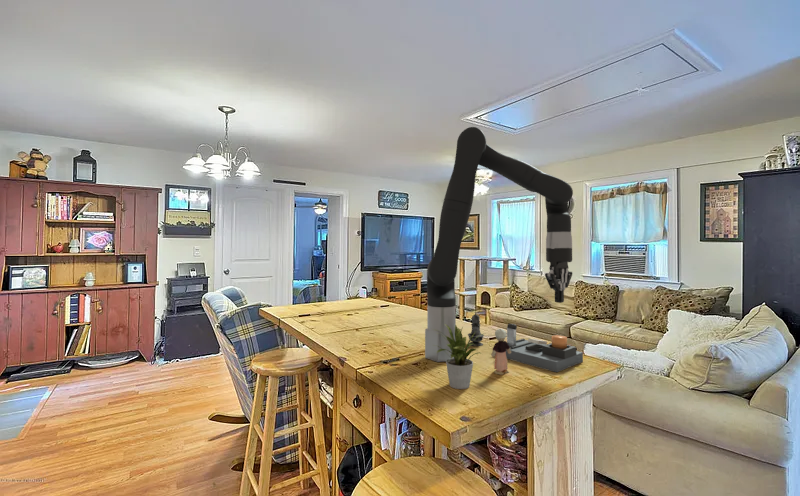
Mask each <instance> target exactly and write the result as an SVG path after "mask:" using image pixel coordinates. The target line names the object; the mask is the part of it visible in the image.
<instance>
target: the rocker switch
mask: <svg viewBox="0 0 800 496" xmlns="http://www.w3.org/2000/svg"><path fill="white" fill-rule="evenodd" d="M527 340H528V342H532V343H537V344H545V345H547V343H548V342H547V341H546V340H541V339H536V338H528V339H527Z"/></svg>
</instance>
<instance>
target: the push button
mask: <svg viewBox="0 0 800 496" xmlns="http://www.w3.org/2000/svg"><path fill="white" fill-rule="evenodd" d="M551 343H552V347H554V348H560V349H565V348H567V345H568V337H567V336H565V335H559V334H558V335H556V334H555V335H552V336H551Z"/></svg>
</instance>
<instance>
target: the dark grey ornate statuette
mask: <svg viewBox="0 0 800 496" xmlns="http://www.w3.org/2000/svg"><path fill="white" fill-rule="evenodd" d="M480 320H481V318H480V316H479V315H478V314H477V312H475V313H474V314H473V315H472V316H471V324H470V325H471V332H470V333H468V334H467V336H468V339H469V340H470V338H471V337H472V335H473V334H474V333H475V334H474V336H473V338H472V339H471V341H470V342H469V344H472V345H471V347H482V346H483V345H484V344H483V343H482V341H483V339H484V336H485V334H484V333H481V328H480V327H481V323H480V322H481V321H480ZM475 331H476V332H475ZM481 334H482V335H481ZM479 335H480V336H479ZM476 337H477V338H476ZM475 338H476V339H475ZM474 339H475V340H474ZM473 340H474V341H473ZM473 343H474V344H473Z"/></svg>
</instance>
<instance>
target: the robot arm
mask: <svg viewBox="0 0 800 496" xmlns="http://www.w3.org/2000/svg"><path fill="white" fill-rule="evenodd" d="M479 166H480V167H483V168H485V169H488V170H490V171H493V172H494V173H496V174H498V175H501V176H502V177H504V178H506V179H508V180H509V181H512V182H513V183H515V184H517V185H518V186H520V187H522V189H526V190H527V191H528V192H530V193H536V194H539V195H540V196H542V197H544V201H545V202H544V203H545V211H546V235H545V236H546V237H545V261H546V262H547V263H550V264H549V268H548V270H549V271H548V272H545V273H544V276H545V279H546V281H547V284H548V285H549V288H550V289H553V291H554V302H555V303H558V304H562V303H564V302H565V294H564V293H565V290H566V289H567V288H569V285H570V282H571V279H572V276H573V271H570V270H569V263H571V262H573V236H572V218H571V215H570V213H569V202H570V200H571V199H572V197H573V195H574V190H573V188H572V186H571V185H570V184H569V183H568V182H566V181H565V180H563V179H561V178H558V177H556V176H553V175H551V174H548V173H545V172H543V171H542V170H541V169H538V168H537V167H535V166H534V165H531V164H529V163H528V162H526V161H523V160H521V159H518V158H514V157H512V156H509V155H505V154H503V153H502V152H499V151H497V150H495V148H493V147H491V146H490V145H489V144H488V143H487V138H486V134H485V133H484V132H483V130H482V129H480V128H479V127H476V126H469V127H468V128H465V129H464V130H463V131H462V132H461V133H459V136H458V137H457V142H456V152H455V157H454V164H453V169H452V173H451V176H450V178H449V181H448V185H447V188H446V192H445V195H444V198H443V202H442V206H441V211H440V217H439V225H438V226H439V227H438V239H437V243H436V247H435V250H434V254H433V256H432V259H431V260H430V261H429V263H428V264H427V268H426V299H427V300H426V302H427V314H426V315H427V319H426V321H427V323H426V324H427V327H426V328H425V329H424V358H425V359H428V360H431V361H433V362H436V363H439V362H446V360H448V359H451V355H450V354H451V353H452V351H451V349H450V347H448V346H447V344H448V343H449V341H448V340H447V338H446V337H445V336H447V337H450V338H451V336H450V333H449V330H448V328H447V326H449V327H450V328H451V330H452V333H453V336H454V339H455V325H456V319H457V317H456V315H457V313H456V308H457V307H456V305H457V301H456V300H457V298H456V290H455V287H456V285H455V283H456V282H455V281H456V280H455V279H456V277H457V272H458V266H459V265H458V263H459V256H460V249H461V245H462V241H463V239H464V235H465V232H466V230H467V226H468V222H469V219H470V215H471V211H472V206H473V203H474V202H473V201H474V195H475V188H476V186H475V185H476V176H477V170H478V167H479ZM446 325H447V326H446ZM456 326H457V325H456ZM432 329H434V330H432ZM437 330H438V331H437ZM441 332H442V333H441ZM438 333H439V334H438ZM442 335H443V336H444V337H445V338H444V337H443V336H442ZM451 339H452V338H451ZM446 340H447V341H446ZM449 344H450V343H449ZM433 345H435V346H433ZM438 346H439V347H438ZM440 347H441V348H442V349H446V350H444V351H445V352H446V353H445V352H444V351H440V352H438V353H437V351H438V350H439V349H441V348H440ZM447 350H448V351H447ZM449 351H450V352H451V353H450V352H449ZM452 358H454V357H452Z"/></svg>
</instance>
